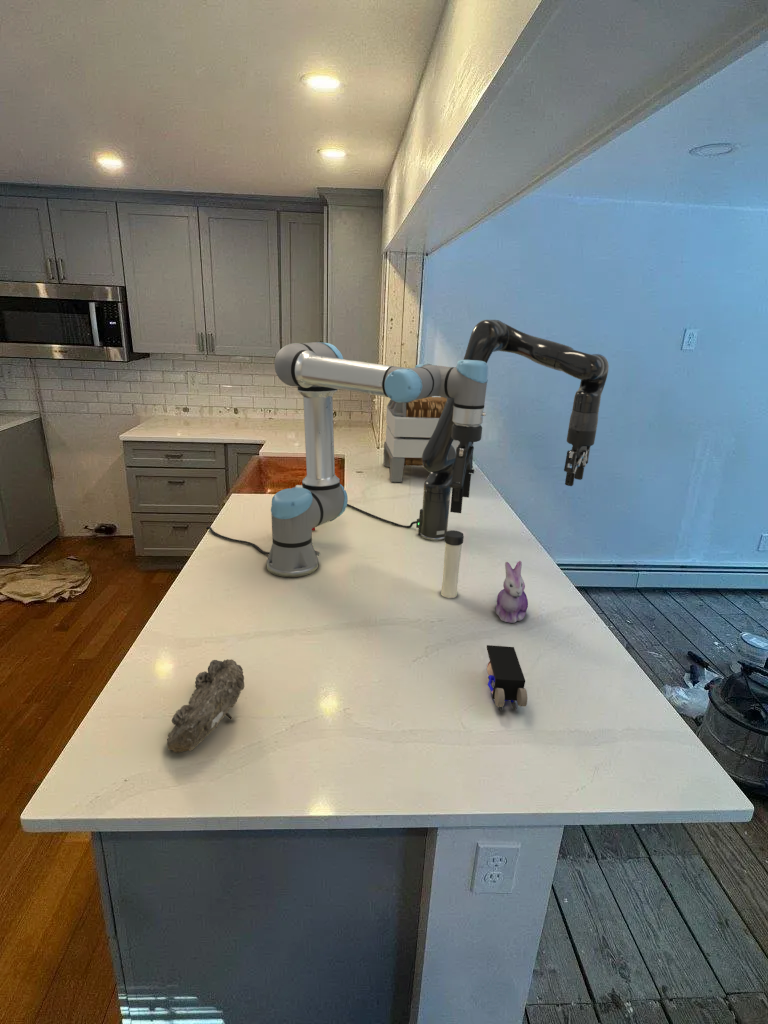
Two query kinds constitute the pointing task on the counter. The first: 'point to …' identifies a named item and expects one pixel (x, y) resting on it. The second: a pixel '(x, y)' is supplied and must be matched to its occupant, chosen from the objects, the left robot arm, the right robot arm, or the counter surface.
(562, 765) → the counter surface
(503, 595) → the figurine
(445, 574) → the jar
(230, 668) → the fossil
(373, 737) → the counter surface
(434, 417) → the transformer
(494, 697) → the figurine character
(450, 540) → the lid
